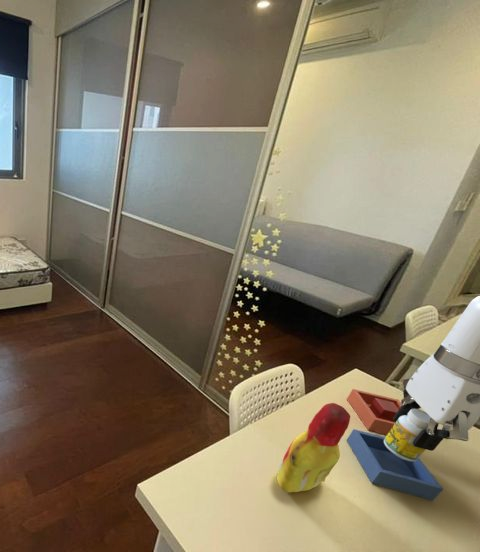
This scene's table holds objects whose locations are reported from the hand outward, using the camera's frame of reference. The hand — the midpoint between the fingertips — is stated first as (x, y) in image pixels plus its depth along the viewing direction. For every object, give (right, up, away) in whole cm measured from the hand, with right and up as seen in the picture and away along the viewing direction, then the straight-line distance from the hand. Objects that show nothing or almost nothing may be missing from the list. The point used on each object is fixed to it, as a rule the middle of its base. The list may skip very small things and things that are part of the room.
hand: (411, 433), depth 64 cm
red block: (+10, -4, +17) cm, 20 cm away
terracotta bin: (+10, -5, +17) cm, 20 cm away
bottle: (-24, -9, 0) cm, 26 cm away
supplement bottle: (-1, -5, +2) cm, 5 cm away
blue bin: (-1, -9, +4) cm, 10 cm away
